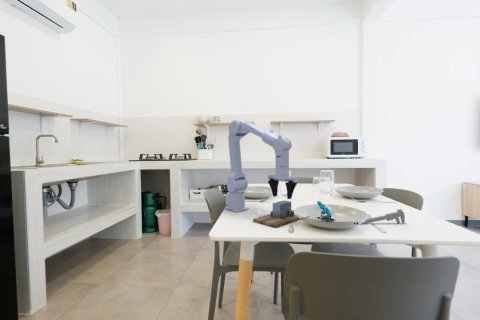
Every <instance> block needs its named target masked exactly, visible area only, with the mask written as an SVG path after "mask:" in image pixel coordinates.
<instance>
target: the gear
mask: <svg viewBox="0 0 480 320" xmlns="http://www.w3.org/2000/svg"><path fill="white" fill-rule="evenodd" d="M316 203H317V205H318V207H319V209H320V210H321V212H320V213H321V214H323V215H326V216H327V217H328V218H330V216H331V213H332V212H331V211H330V209H329V208H328V206H326V204H324V203H322V202H321V201H320V200H317V201H316ZM330 212H331V213H330ZM325 213H326V214H325Z"/></svg>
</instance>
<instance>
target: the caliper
mask: <svg viewBox="0 0 480 320" xmlns="http://www.w3.org/2000/svg"><path fill="white" fill-rule="evenodd" d="M366 219H367V220H366V221H365V222H363V223H362V224H361V225H364V224H370V223H374V222H380V221H385V220H386V221H388V222H389V221H394V220H395V222H396V223H397V224H398V225H400V224H405V222H406V221H405V219H406V218H405V213H404V211H403V210H402V208H399V209H396V211H395V212H393V211H392V212H389V213H385V214H384V215H380V216H379V215H378V216H375V217H369V218H366Z"/></svg>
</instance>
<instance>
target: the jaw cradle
mask: <svg viewBox="0 0 480 320" xmlns="http://www.w3.org/2000/svg"><path fill="white" fill-rule="evenodd" d="M294 211H295V210H293V209H291V216H288V217H285V214H282V219H278V218H274V217H273V210H272V211H270V213H269V214H266V215H263V216H262V215H261V216H259V217H255V218H252V222H253V223H256V224H260V225H263V226H266V227H267V226H268V227H271V228H274V229H277V228H281V227H283V226H286V225H289V224H291V223H294V222H296V221H299V220H301V219H300V218H299V217H298V216H297V215H295V213H294Z"/></svg>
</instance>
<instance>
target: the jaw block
mask: <svg viewBox="0 0 480 320" xmlns="http://www.w3.org/2000/svg"><path fill="white" fill-rule="evenodd" d="M291 210H292V201H288V200H280V201H276V202H273V203H272V211H273V217H274V218H278V219H282V214H285V217H288V216H291Z"/></svg>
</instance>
